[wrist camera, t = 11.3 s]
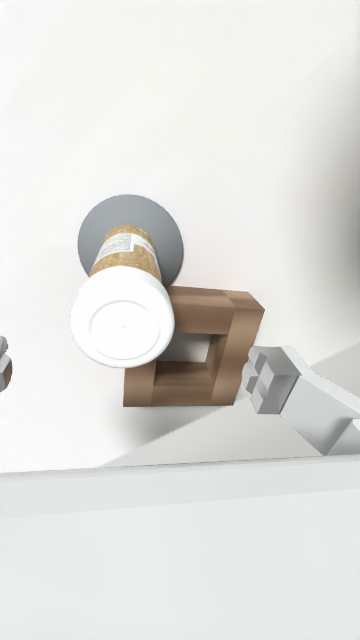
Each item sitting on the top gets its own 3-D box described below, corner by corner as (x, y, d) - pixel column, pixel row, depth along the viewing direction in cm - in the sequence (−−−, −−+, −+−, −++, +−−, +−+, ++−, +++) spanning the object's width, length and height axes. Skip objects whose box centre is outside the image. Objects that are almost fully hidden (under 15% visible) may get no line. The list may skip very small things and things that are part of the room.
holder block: (130, 282, 25) (129, 300, 21) (248, 292, 27) (264, 309, 24) (124, 380, 30) (123, 406, 27) (222, 380, 33) (233, 405, 29)
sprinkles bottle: (161, 266, 24) (187, 354, 12) (114, 282, 24) (96, 384, 12) (144, 215, 22) (157, 265, 10) (92, 232, 22) (44, 302, 10)
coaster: (76, 186, 20) (75, 186, 20) (189, 203, 22) (190, 203, 22) (80, 293, 24) (79, 295, 24) (175, 300, 26) (175, 301, 26)
